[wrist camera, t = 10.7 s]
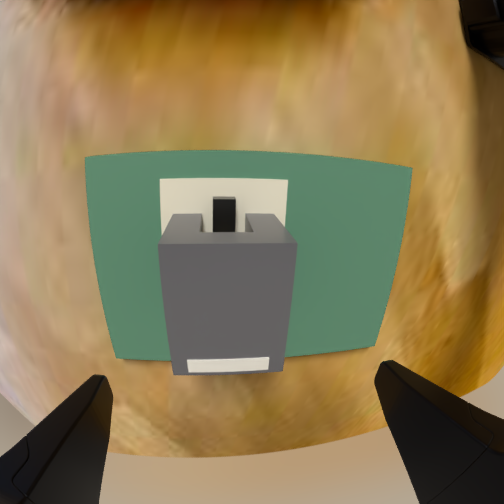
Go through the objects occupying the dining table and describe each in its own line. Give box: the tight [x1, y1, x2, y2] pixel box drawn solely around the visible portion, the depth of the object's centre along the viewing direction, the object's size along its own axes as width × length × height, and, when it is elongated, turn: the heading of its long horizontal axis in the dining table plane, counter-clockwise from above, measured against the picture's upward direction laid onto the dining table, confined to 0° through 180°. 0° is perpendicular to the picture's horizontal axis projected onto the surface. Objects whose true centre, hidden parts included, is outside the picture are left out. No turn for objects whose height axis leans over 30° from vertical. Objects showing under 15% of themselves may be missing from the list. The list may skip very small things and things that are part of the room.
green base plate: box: [85, 150, 412, 361], centre depth 18 cm, size 20×14×1 cm
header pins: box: [213, 196, 236, 232], centre depth 16 cm, size 1×9×2 cm, turn 178°
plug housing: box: [158, 213, 298, 375], centre depth 15 cm, size 6×7×5 cm
